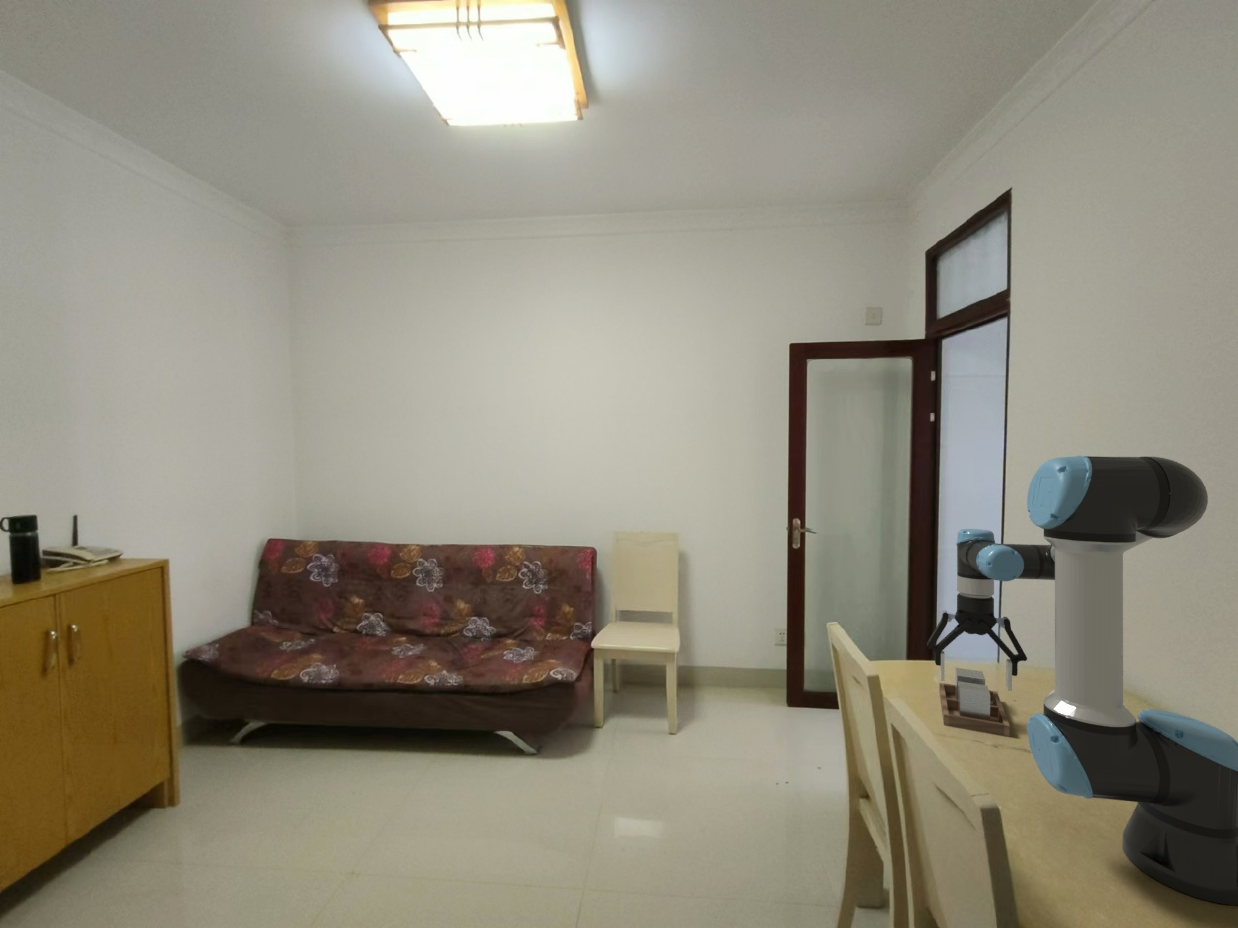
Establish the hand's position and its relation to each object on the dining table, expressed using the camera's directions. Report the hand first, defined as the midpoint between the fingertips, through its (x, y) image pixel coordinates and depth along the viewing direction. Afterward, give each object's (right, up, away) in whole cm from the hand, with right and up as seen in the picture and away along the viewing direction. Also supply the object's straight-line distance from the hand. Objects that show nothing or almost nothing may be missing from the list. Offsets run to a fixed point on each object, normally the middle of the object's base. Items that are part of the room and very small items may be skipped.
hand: (974, 683), depth 139 cm
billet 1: (+5, -9, +10) cm, 14 cm away
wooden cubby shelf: (+2, -10, +5) cm, 12 cm away
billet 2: (0, -9, +1) cm, 9 cm away
